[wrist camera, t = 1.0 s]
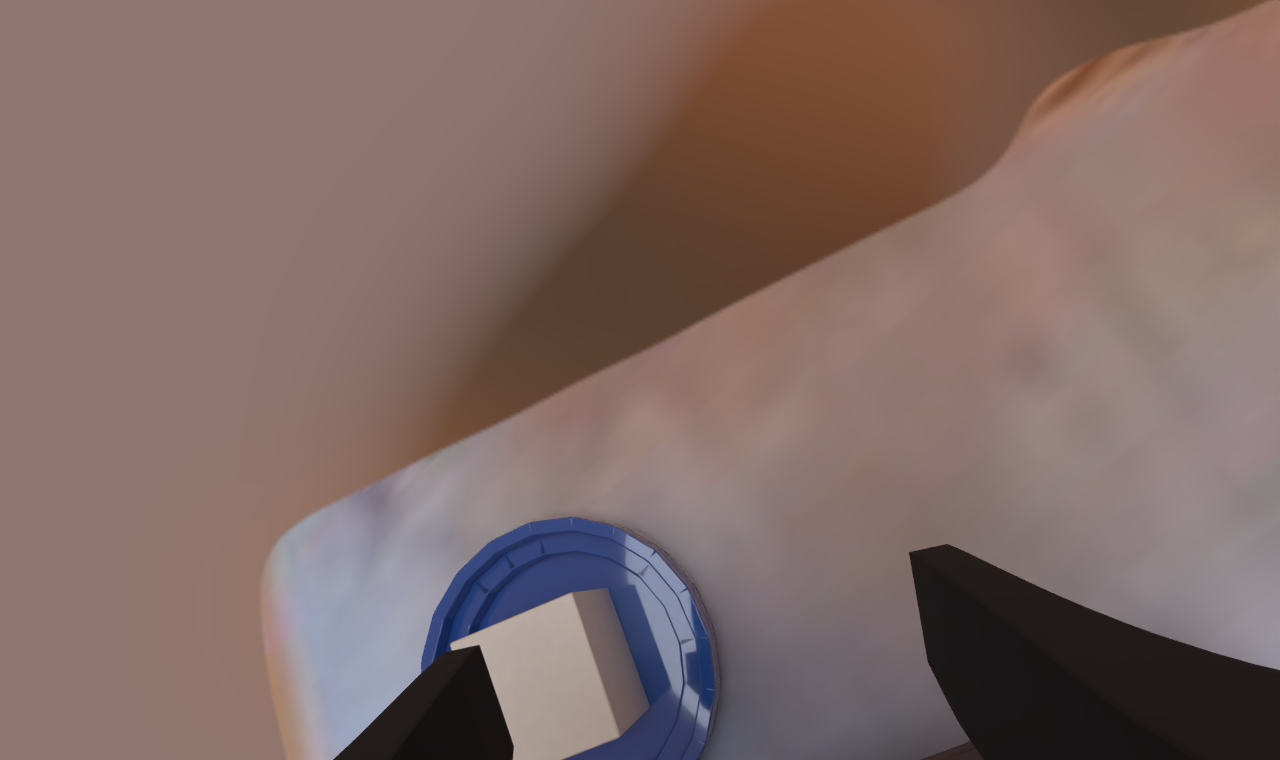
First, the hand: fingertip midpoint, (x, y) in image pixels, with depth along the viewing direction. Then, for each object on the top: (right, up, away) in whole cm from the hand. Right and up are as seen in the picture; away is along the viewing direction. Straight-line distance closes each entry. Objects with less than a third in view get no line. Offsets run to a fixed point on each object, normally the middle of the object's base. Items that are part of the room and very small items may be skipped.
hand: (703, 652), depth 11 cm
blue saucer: (-3, -6, +15) cm, 16 cm away
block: (-3, -6, +14) cm, 16 cm away
